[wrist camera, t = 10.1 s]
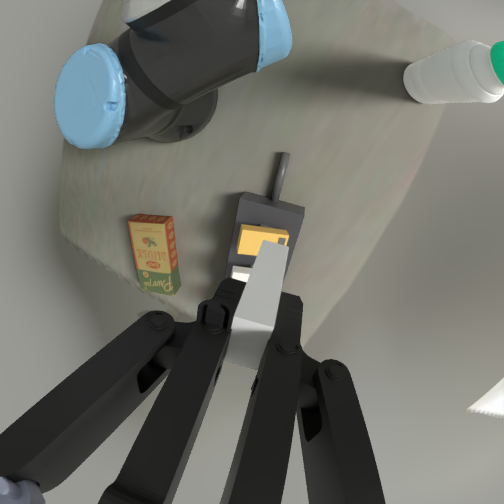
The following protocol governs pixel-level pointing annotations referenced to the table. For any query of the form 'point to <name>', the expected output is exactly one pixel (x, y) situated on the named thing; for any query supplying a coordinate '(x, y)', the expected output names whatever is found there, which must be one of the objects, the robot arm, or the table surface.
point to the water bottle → (458, 74)
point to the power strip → (266, 219)
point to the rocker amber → (258, 238)
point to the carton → (155, 253)
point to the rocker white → (241, 273)
